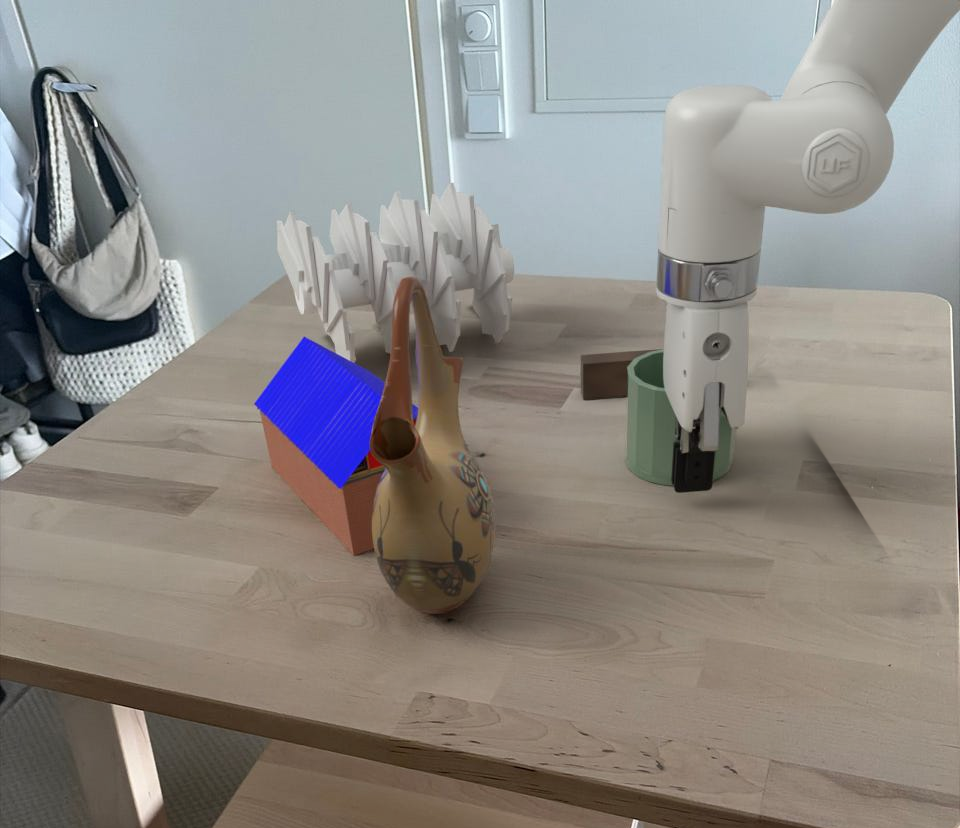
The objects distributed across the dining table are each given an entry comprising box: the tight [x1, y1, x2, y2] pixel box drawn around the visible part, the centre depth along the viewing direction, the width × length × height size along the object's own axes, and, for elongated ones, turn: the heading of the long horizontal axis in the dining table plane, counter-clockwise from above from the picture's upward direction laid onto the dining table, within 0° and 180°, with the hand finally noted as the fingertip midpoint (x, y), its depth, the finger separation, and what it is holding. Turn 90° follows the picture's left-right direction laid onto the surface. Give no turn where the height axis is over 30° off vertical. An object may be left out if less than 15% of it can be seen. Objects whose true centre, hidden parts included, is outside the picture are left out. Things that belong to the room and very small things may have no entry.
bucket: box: [624, 348, 737, 487], centre depth 93 cm, size 10×10×9 cm
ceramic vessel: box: [369, 277, 496, 615], centre depth 74 cm, size 16×9×25 cm, turn 169°
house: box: [253, 336, 469, 556], centre depth 92 cm, size 12×20×12 cm, turn 30°
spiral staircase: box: [276, 182, 515, 364], centre depth 115 cm, size 18×18×25 cm
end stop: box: [580, 348, 662, 401], centre depth 107 cm, size 14×2×4 cm, turn 92°
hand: (691, 486), depth 89 cm, fingers closed
